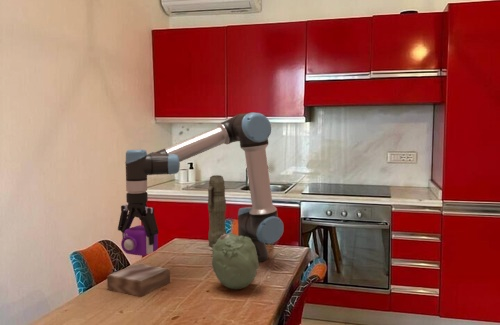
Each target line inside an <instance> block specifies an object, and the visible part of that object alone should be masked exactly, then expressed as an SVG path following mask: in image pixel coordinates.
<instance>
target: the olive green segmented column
mask: <svg viewBox="0 0 500 325" xmlns="http://www.w3.org/2000/svg"><path fill="white" fill-rule="evenodd" d="M225 190H226V187H225V180H224V176H222V175H221V174H220V175H216V174H215V175H212V176H210V177H209V180H208V190H207V196H208V198H207V210H208V220H209V221H208V222H209V227H208V228H209V230H208V234H207V236H208V237H207V238H208V247H210V248H213V246H212V245H215V243H216V242H217V239H219V238H220V237H221V235H222V234H227V230H226V211H227V200H226V192H225Z"/></svg>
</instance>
